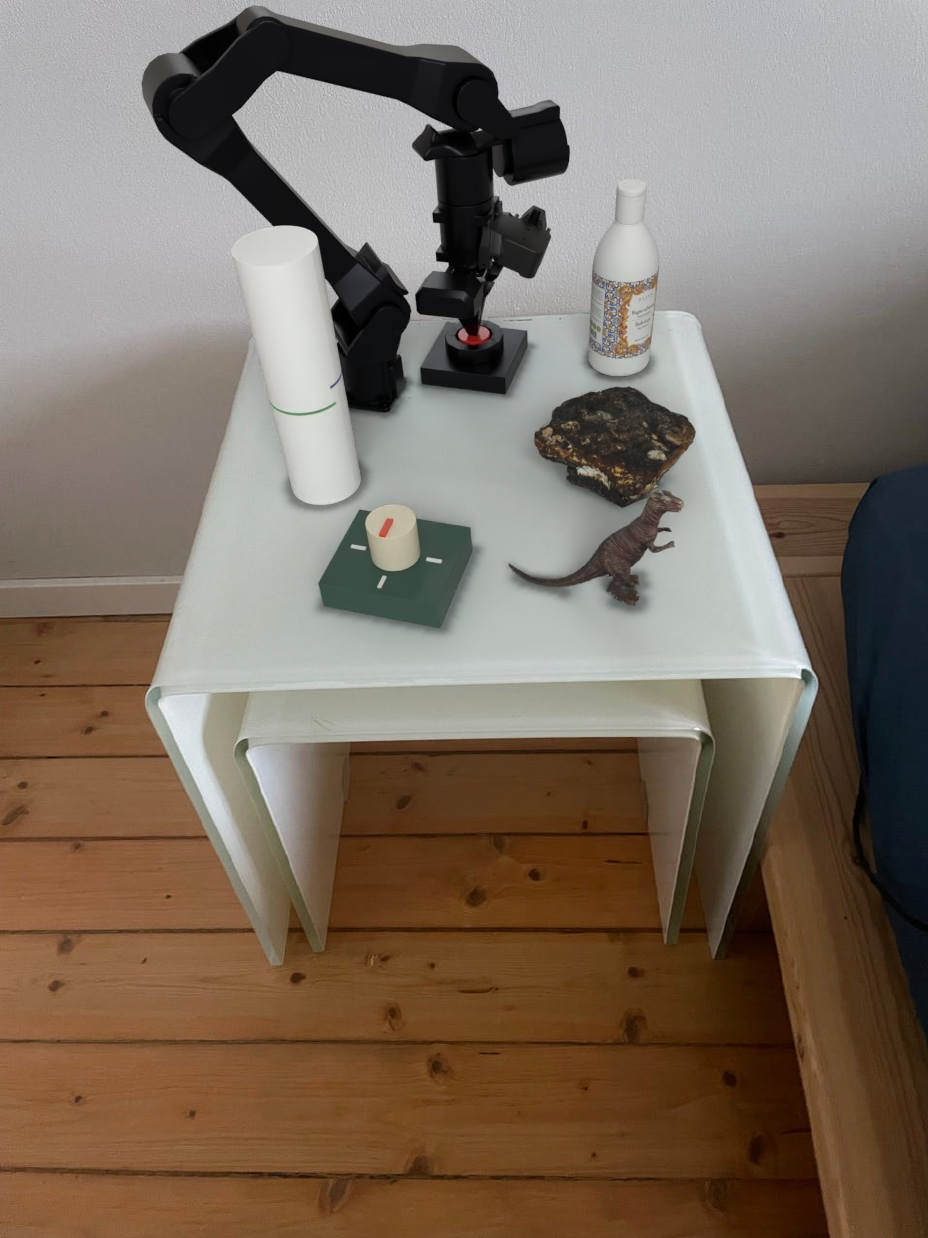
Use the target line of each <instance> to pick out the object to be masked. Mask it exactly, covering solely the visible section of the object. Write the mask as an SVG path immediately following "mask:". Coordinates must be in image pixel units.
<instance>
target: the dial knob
mask: <svg viewBox="0 0 928 1238" xmlns="http://www.w3.org/2000/svg"><path fill="white" fill-rule="evenodd" d="M371 511H372V512H371V513H370V514H369V515H368V516H367V518H366V522H365V525H366V531H367V536H368V542H369V547H370V552H371V558H372V561H373V563H374V564H375V565H376V566H377V567H379V568H381V569H383V570H386V571H400V570H404V569H407V568H409V567H411V566H412V565H414V564H415V563H416V562H417V560H418V559H419V557H420V544H419V536H418V529H417V521H416V519H417V515H416V514H415V512H414V511H413V510H412V509H411V508H410V507H408V506H406V505H403V504H399V503H389V504H385V505H381V506H378V507H376V508H374V509H373V510H371Z"/></svg>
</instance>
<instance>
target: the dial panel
mask: <svg viewBox="0 0 928 1238" xmlns="http://www.w3.org/2000/svg"><path fill="white" fill-rule="evenodd" d="M372 511H373V510H367V509H358V511H357V512H356V514H355V516H354V518H353V520H352V522H351V523H350V525H349V527H348V529H347V531H346V532H345V534H344V536H343V538H342V540H341V541H340V543H339V545H338V547H337V548H336V550H335V552H334V553H333V556H332V557H331V559H330V560H329V563H328V564H327V566H326V568H325V570H324V572H323V574H322V576H321V577H320V578H319V580H318V583H317V584H318V589H319V593H320V597H321V601H322V605H323V607H326V608H330V609H331V608H332V609H336V610H341V611H346V612H352V613H357V614H363V615H367V616H373V617H377V618H384V619H388V620H395V621H399V622H405V623H410V624H416V625H421V626H426V627H430V628H435V629H440V628H442V624H443V622H444V619H445V617H446V615H447V612H448V610H449V608H450V605H451V603H452V600H453V598H454V596H455V593H456V591H457V589H458V586H459V583H460V581H461V580H462V576H463V574H464V571H465V569H466V567H467V565H468V562H469V560H470V558H471V554H472V552H473V539H472V528H471V527H470V526H465V525H459V524H452V523H446V522H441V521H440V522H439V521H434V520H428V519H421V518H416V521H417V529H418V536H419V544H420V557H419V559H418V560H417V562H416V563H415V564H414V565H412V566H411V567H409V568H407V569H404V570H400V571H386V570H383V569H381V568H379V567H377V566H376V565H375V564H374V563H373V561H372V558H371V552H370V547H369V542H368V536H367V531H366V525H365V522H366V518H367V516H368V515H369V514H370V513H371V512H372Z"/></svg>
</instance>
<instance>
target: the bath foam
mask: <svg viewBox="0 0 928 1238" xmlns="http://www.w3.org/2000/svg"><path fill="white" fill-rule="evenodd" d="M646 197H647V183H646V182H645V181H644V180H642V179H637V178H627V179H622V180H621V181H619V182H618V183H617V184H616V194H615V211H614V213H615V214H614V220H613V221H612V223H611V224H610V225H609V227H608V228H607V229H606V231H605V232H604V233H603V235H602V237H601V238H600V240H599V242H598V244H597V246H596V249H595V252H594V255H593V259H592V260H593V261H592V268H591V269H592V270H591V288H590V289H591V290H590V311H589V312H590V313H589V330H588V331H589V334H588V362H589V364H590V366H591V368H593V369H594V370H595V371H596V372H598V373H600V374H603V375H605V376H611V377H628V376H632V375H636V374H637V373H639V372H641V371H643V370H644V369H645V368H646V367H647V365H648V364H649V361H650V356H651V345H652V338H653V328H654V319H655V318H654V317H655V309H656V300H657V291H658V282H659V281H658V280H659V270H660V256H659V249H658V245H657V242H656V240H655V237H654V236H653V234H652V232H651V230H650V228H649V226H648V225H647V223H646V221H645V220H644V219H645V212H646V211H645V210H646V200H647V199H646Z"/></svg>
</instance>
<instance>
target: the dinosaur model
mask: <svg viewBox="0 0 928 1238" xmlns="http://www.w3.org/2000/svg"><path fill="white" fill-rule="evenodd" d="M684 506H685V502H684V501H683V499H682V498H681V497H680V498H679V497H677V496H675V495H673V493H672V491H669V490H666V489H659V490H655V491H653V492H651V493H650V495H649V496H648V497H647V500H646V503H645V504H644V507H643V509H642V512H641V514H640V515H639V516H637V517H636V518H635V519H633V520H632V521H630V522H629V524H628V525H625V526H623V527H622V528H619V529H618V530H615V531H614V532H613V533H611V534H609V535H608V536H607V537H606V538H604V540H602V542H601V543H600V544H599V545H598V547H597V549H595V552H594V553H593V554H591V555H592V556H591V557H590V558H589V559H588V560H587V561H586V562H585V564H583V565H582V566H581V567H580V568H578V569H577V570H576V571H574V572H573V573H570V574H569V575H566V576H562V577H559V578H558V577H557V578H540V577H536V576H532V575H530V574H528V573H526V572H524V571H523V570H521V569H519V568H517V567H515V565H513V564H511V562H509V563H508V564H507V566H508V568H509V569H511V571H512V572H513V573H515V575H517V576H518V577H520V578H522V579H523V580H524V581H526V582H527V583H529V584H533V585H536V586H540V587H542V586H543V587H547V588H562V587H571V586H576V585H580V584H583V583H584V584H585V583H586V582H590V581H592V580H595V579H597V578H600V577H605V576H606V577H607V578H609V577H613V578H612V579H611V581H610V583H609V584H608V585H607V586H606V588H605V593H609V594H611V595H612V596H613V597H614V598H615V599H616V600H618V601H620V602H622V603H623V604H624V605H630V606H636V605H638V604H637V603H638V601H640V599H641V596H639V595H637V594H638V593H639V591H638V590H636V589H635V588H637V585H640V581H639V580H638V579H639V578H640V577H639V575H637V574H631V570H632V568H633V567H634V566H635V565H636V564H637V563H638V562H639V561H641V559H642V558H643V557H644V555H645V553H646V552H647V550H649V552H651V553H652V554H657V553H660V552H663V551H665V550H667V549H673V548H676V545H675V541H674V540H669V541H668V542H667V543H665V544H664V545H659V546H657V545H655V541H656V539H657V537H658V534H659V533H662V532H666V533H672V532H673V531H672V529H671V528H670V527H666V526H663V527H661V526H660V527H659V525H660V524H661V518H663V516H664V515H665V514H666V513H667V512H669V513H680V512H681V511H682V509H683V508H684ZM623 586H624V587H626V588H628V589H625V588H624V589H623V588H621V587H623Z"/></svg>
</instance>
